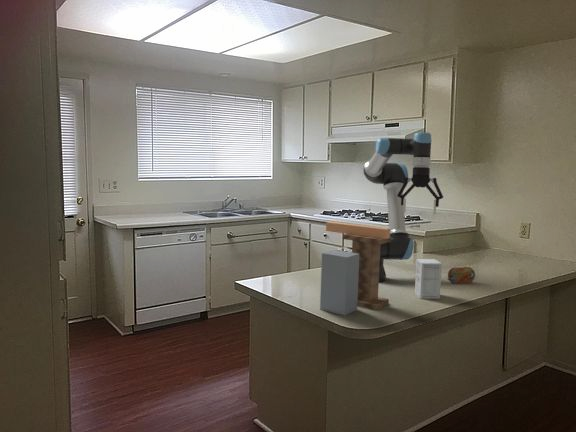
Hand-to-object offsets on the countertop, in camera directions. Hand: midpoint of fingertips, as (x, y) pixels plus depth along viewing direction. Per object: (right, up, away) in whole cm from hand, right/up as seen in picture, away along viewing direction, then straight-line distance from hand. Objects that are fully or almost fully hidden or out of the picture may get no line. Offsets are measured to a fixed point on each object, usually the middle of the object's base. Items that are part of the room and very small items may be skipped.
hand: (419, 213), depth 222 cm
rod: (-30, -9, -9) cm, 33 cm away
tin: (+30, -36, +30) cm, 56 cm away
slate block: (-39, -41, -19) cm, 60 cm away
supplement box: (+5, -39, +4) cm, 40 cm away
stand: (-27, -40, -8) cm, 49 cm away
